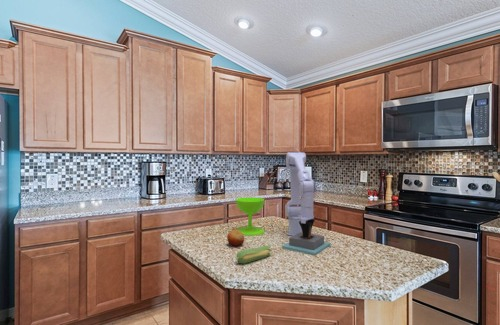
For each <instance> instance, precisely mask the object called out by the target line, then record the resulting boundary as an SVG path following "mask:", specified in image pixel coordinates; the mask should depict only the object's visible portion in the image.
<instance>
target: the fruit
mask: <svg viewBox="0 0 500 325" xmlns="http://www.w3.org/2000/svg"><path fill="white" fill-rule="evenodd" d="M226 238H227V242H228V243H227V244H228V245H230V246H233V247H234V248H235V247H239V246H241V245H242V244H244V243H245V235H244V234H243V233H241V231H238V230H237V229H232V230H230V231H229V232H228V234H227V236H226Z"/></svg>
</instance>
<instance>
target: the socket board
mask: <svg viewBox="0 0 500 325" xmlns="http://www.w3.org/2000/svg"><path fill="white" fill-rule="evenodd" d="M331 244H332V243H331V242H329V241H325V236H324V235H319V234H313V233H311V239H306V238H302V232H300V233H298V234H296V235H294V236H290V237H289V240H288V242H287V243H285V244H283V245H281V249H284V250H289V251H294V252H298V253H303V254H307V255H312V256H316V255H318V254H320V253H321V252H322V251H324V250H325V249H327V248H328V247H330V246H331Z"/></svg>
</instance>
